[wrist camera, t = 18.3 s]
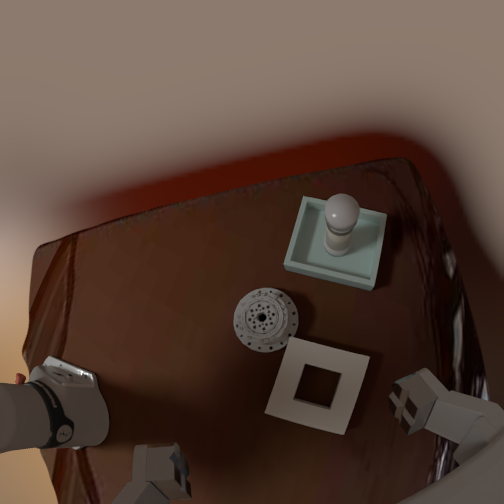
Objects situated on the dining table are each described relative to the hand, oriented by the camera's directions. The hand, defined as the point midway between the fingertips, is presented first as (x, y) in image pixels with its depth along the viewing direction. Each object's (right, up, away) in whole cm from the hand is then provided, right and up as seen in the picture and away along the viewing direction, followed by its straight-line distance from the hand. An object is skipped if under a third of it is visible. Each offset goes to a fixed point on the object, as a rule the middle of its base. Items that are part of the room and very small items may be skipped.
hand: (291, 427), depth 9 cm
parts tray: (+12, +7, +39) cm, 41 cm away
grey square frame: (+8, -14, +32) cm, 36 cm away
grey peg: (+12, +7, +38) cm, 41 cm away
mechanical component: (+1, -5, +37) cm, 38 cm away
